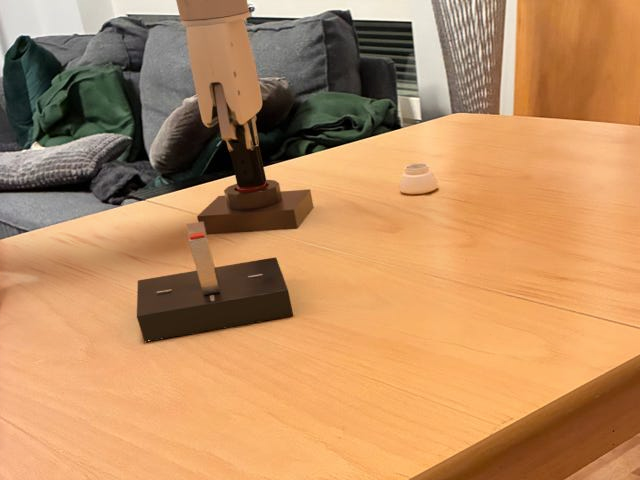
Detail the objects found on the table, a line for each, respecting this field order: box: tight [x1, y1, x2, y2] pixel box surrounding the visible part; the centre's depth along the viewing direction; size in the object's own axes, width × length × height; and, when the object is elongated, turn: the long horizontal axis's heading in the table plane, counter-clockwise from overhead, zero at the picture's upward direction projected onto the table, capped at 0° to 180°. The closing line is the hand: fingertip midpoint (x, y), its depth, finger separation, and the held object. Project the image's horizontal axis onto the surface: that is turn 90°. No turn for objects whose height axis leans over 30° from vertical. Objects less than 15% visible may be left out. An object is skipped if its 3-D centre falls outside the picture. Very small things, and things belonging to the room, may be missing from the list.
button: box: [237, 183, 267, 192], centre depth 118 cm, size 4×4×2 cm
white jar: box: [398, 162, 440, 196], centre depth 124 cm, size 5×3×5 cm
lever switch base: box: [136, 256, 294, 342], centre depth 94 cm, size 14×11×3 cm
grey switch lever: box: [186, 221, 220, 295], centre depth 92 cm, size 6×2×5 cm, turn 15°
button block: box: [196, 179, 315, 236], centre depth 118 cm, size 12×9×4 cm
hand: (252, 184), depth 117 cm, fingers closed
